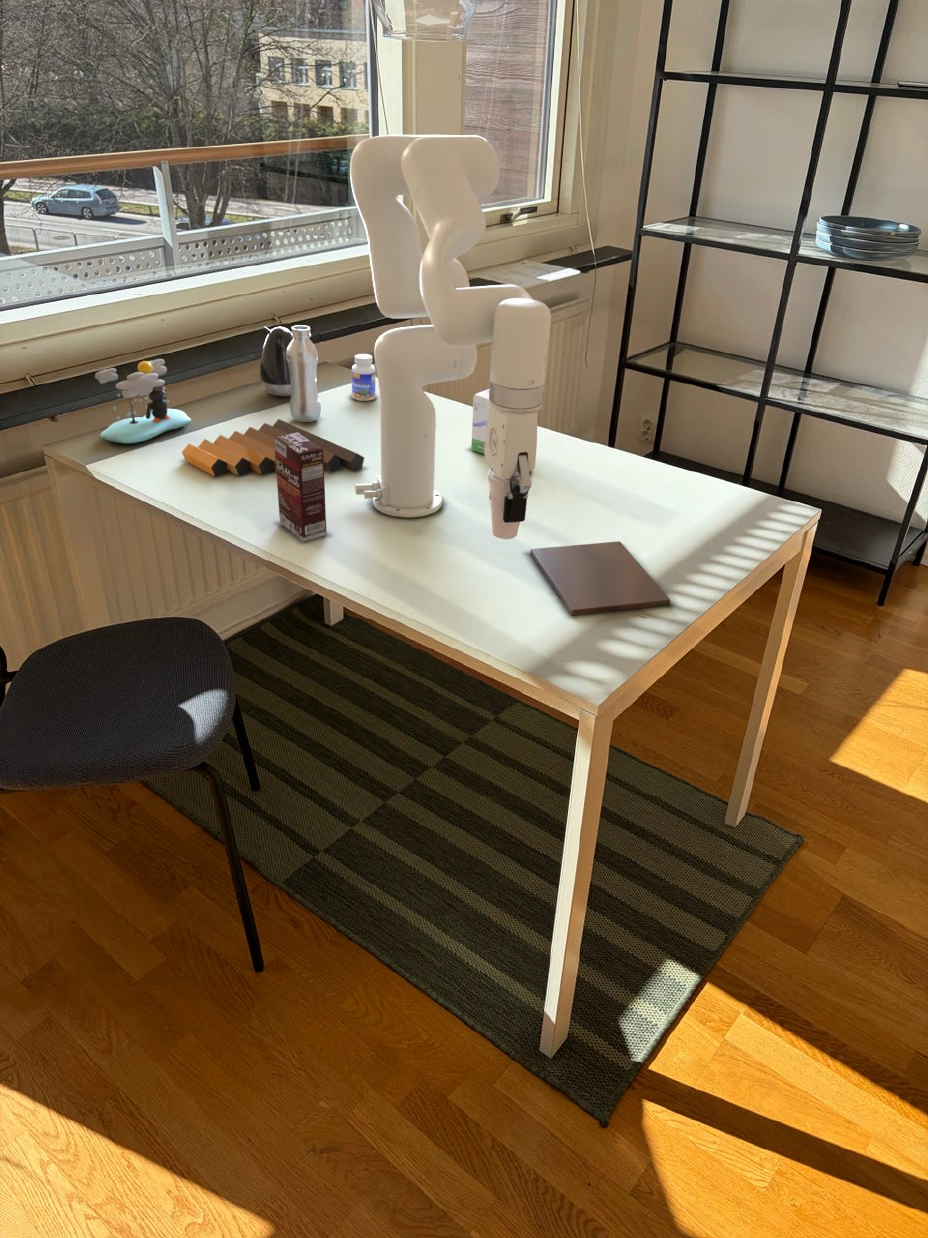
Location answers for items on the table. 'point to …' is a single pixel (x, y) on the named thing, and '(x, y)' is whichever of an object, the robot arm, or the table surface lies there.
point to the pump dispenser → (276, 362)
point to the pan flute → (262, 451)
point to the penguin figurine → (157, 412)
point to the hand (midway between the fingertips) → (506, 509)
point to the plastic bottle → (303, 376)
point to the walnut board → (598, 578)
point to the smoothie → (500, 506)
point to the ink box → (480, 420)
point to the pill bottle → (363, 378)
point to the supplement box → (300, 486)
